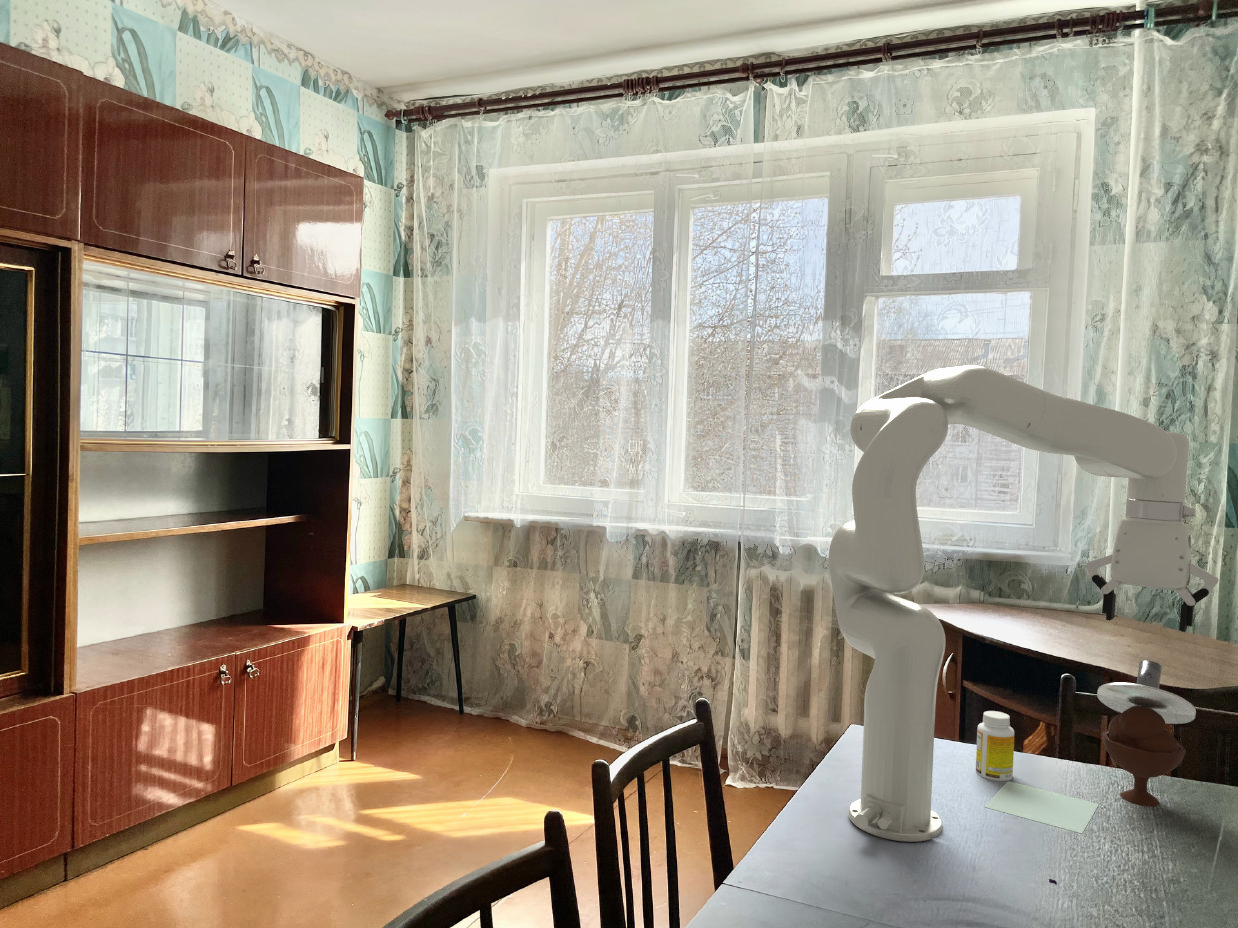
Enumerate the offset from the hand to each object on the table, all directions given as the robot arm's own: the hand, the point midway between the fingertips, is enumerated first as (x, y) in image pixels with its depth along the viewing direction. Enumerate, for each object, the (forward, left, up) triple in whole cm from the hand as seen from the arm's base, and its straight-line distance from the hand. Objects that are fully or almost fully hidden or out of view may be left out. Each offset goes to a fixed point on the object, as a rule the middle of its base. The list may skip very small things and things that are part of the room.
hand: (1145, 624), depth 134 cm
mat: (-13, +11, -27) cm, 32 cm away
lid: (+1, 0, -13) cm, 13 cm away
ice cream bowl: (0, 0, -28) cm, 28 cm away
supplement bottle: (-5, +20, -28) cm, 34 cm away
